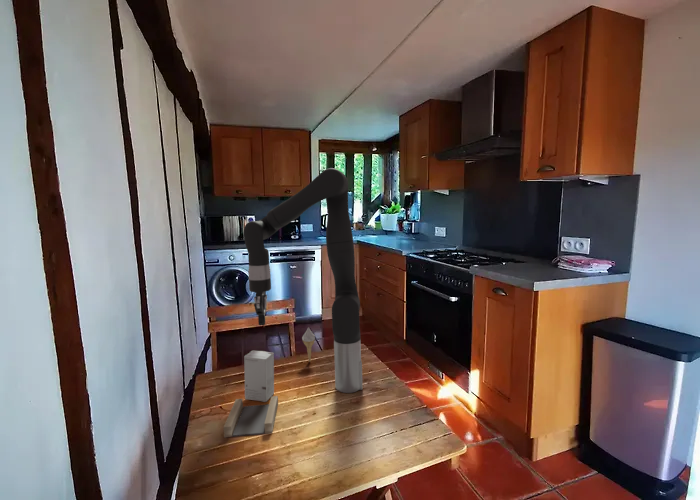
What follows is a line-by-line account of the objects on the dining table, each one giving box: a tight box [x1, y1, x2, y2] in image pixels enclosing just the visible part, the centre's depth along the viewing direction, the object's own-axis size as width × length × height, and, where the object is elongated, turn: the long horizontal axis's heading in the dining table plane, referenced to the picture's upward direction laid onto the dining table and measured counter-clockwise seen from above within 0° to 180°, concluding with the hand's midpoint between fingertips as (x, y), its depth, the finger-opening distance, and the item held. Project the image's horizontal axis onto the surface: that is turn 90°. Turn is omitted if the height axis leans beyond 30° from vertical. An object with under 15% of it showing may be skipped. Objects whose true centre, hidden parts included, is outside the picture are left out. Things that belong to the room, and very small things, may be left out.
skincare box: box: [243, 350, 275, 403], centre depth 110 cm, size 8×6×15 cm
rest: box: [223, 395, 279, 438], centre depth 98 cm, size 13×14×3 cm
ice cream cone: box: [301, 326, 316, 363], centre depth 136 cm, size 6×6×15 cm
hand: (262, 324), depth 119 cm, fingers closed
